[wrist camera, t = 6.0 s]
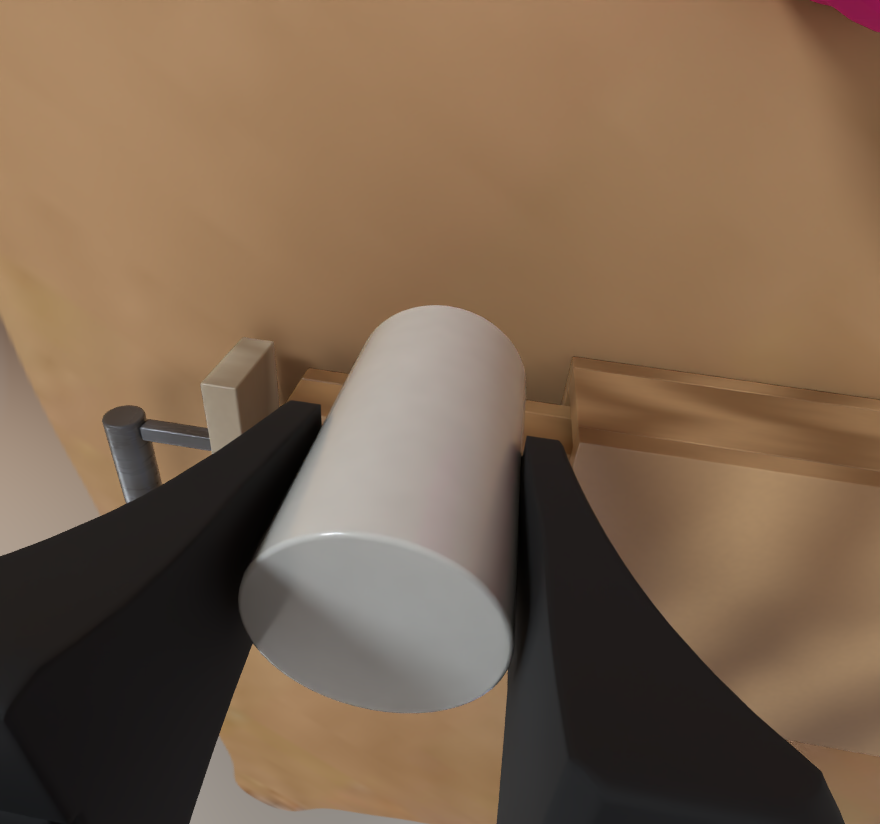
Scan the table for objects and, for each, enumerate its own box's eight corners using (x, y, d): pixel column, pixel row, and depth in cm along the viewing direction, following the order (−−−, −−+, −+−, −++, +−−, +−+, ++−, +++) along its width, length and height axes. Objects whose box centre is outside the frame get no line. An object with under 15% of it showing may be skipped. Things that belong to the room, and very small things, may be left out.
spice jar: (512, 460, 15) (493, 735, 10) (358, 436, 16) (250, 689, 10) (540, 316, 13) (537, 563, 7) (359, 292, 13) (219, 511, 8)
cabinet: (516, 589, 28) (512, 690, 24) (572, 355, 21) (579, 442, 17) (837, 643, 27) (890, 759, 23) (1009, 417, 20) (1131, 525, 16)
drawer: (175, 538, 28) (136, 594, 26) (123, 318, 22) (64, 363, 19) (557, 603, 27) (558, 669, 24) (621, 390, 21) (633, 449, 18)
